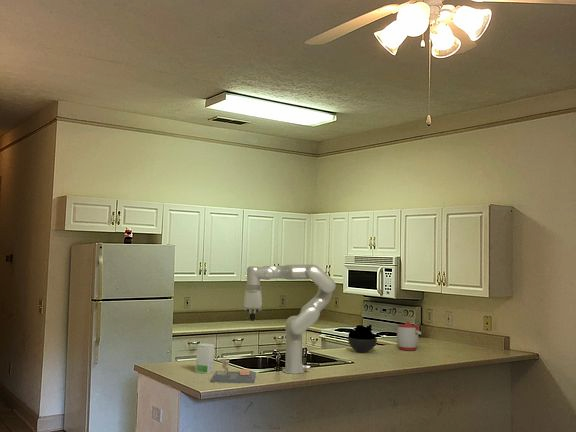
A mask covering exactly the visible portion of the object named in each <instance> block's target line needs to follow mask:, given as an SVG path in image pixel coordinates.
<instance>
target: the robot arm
mask: <svg viewBox="0 0 576 432" xmlns="http://www.w3.org/2000/svg"><path fill="white" fill-rule="evenodd" d="M273 279H283V280H288V281H289V280H292V281H293V280H311V281H312V282H313V283H314V284H315V285H316V286H317V287H318V290H317V293H316V294H315V296H313V297H312V299H310V300H309V301H308V302H307V303H306V304H304V305H303V306H302V307H301V309H300V312H299V314H297V315H292V316H289V317H288V318H287V319H286V321H285V326H284V327H285V357H284V359H285V361H284V362H285V364H284V365H285V368H284V367H283V368H282V372H283V373H285V374H291V375H292V374H293V375H294V374H296V375H297V374H303V373H305V370H310V369H311V365H309V364H306V365H305V364H303V333H305V332H306V331H307V330H308V329H310V327H311V326H312V325H313V324H315V323H316V322H317V321H318V320H319V318H320V315H321V312H322V310H324V309H325V307H326V306H327V305H329V303H330V301H331V300H332V296H333V295H332V294H333V292H335V290H336V287H337V286H336V282H335V280H334V279H333V278H332V277H330V276H329V274H327V273H326V272H325V271H324V270H323V269H322V267H321V268H320V266H318V265H316V264H284V265H264V266H262V267H261V266H255V265H254V266H252V265H251V266H248V267H247V269H246V289H245V291H244V297H243V298H244V299H243V310H244V311H247V312H248V313H249V320H250V321H251V322H254V321H255V320H256V313H257V312H259V311H260V312H261V311H262V310H263V307H262V306H263V296H262V295H263V294H262V290H261V289H263V286H262V285H261V280H267V281H269V280H273ZM252 309H253V311H252Z"/></svg>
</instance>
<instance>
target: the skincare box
mask: <svg viewBox="0 0 576 432" xmlns="http://www.w3.org/2000/svg"><path fill="white" fill-rule="evenodd" d="M215 347H216V344H211V343H205V342H201V343H198V344H197V345H196V358H195V359H196V360H195V373H199V374H205V375H206V374H208V375H209V374H211V373H213V372H214V364H215V362H214V361H215Z"/></svg>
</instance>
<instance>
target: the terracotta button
mask: <svg viewBox="0 0 576 432" xmlns="http://www.w3.org/2000/svg"><path fill="white" fill-rule="evenodd" d="M239 372H240V375H250V372H251V368H250V369H244V368H241V369H240V370H239Z"/></svg>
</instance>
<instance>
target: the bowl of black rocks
mask: <svg viewBox="0 0 576 432" xmlns="http://www.w3.org/2000/svg"><path fill="white" fill-rule="evenodd" d="M372 327H373V326H372V324H369V325H367V326H364V325H362V324H361V325H360V324H359V325H356V327H355V329H354V330H353V331H350V332H348V336H347V342H348V343H349V344H348V345H349V346H350V347H351V348H352V349H353V350H354V351H356V352H358V353H367V352H369V351H370V352H371V351H372V350H373V349H374V347H375V346H376V344H377V342H378V338H377V337H376V335H375V334H374V333H373V332H372Z"/></svg>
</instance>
